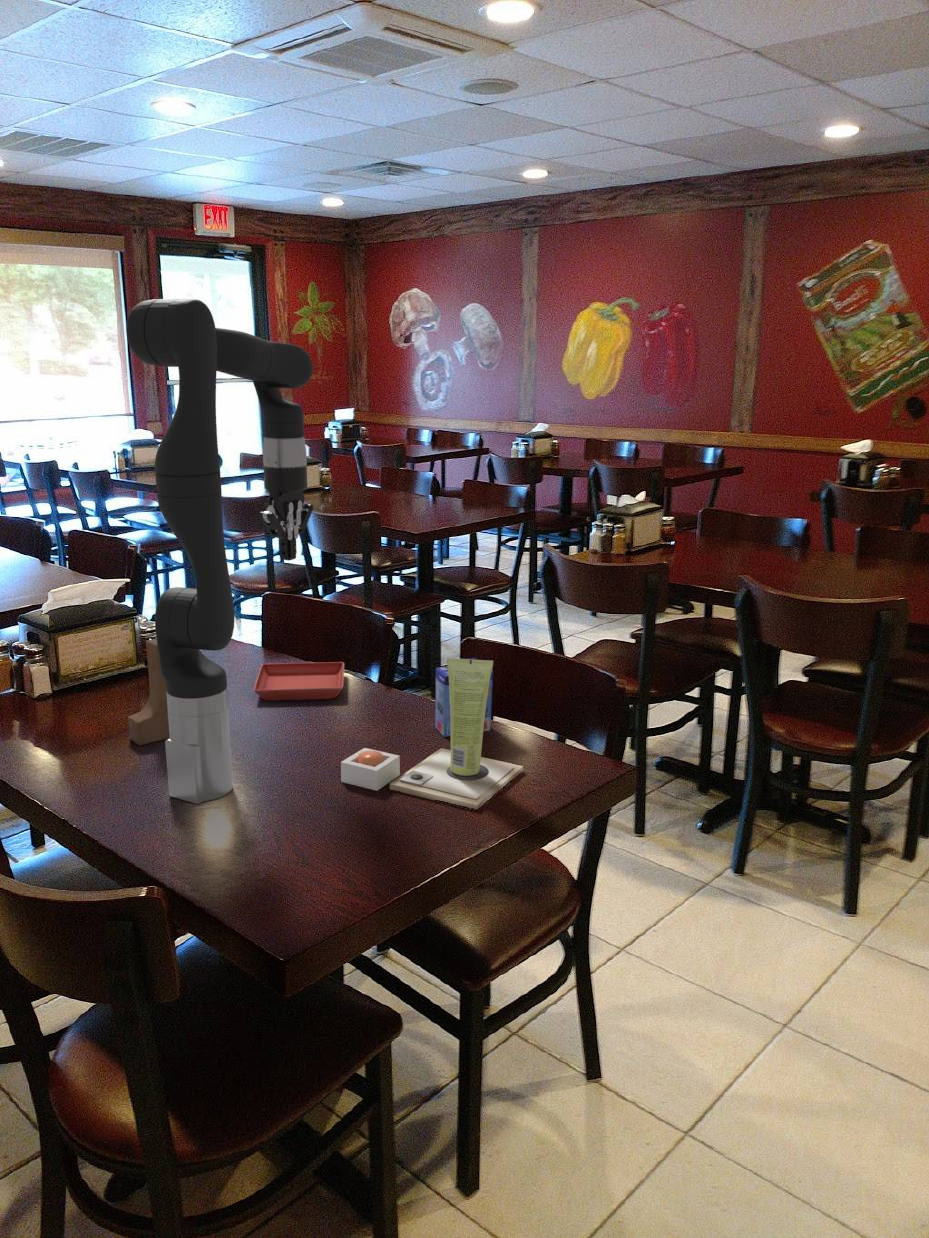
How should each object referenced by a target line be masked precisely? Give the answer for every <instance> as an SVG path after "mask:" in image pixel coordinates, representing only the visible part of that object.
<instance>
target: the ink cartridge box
mask: <svg viewBox="0 0 929 1238" xmlns="http://www.w3.org/2000/svg"><path fill="white" fill-rule="evenodd" d="M469 659H470V660H477V657H471V658H469ZM493 677H494V670H492V671H491V676H490V682H489V688H488V695H487V703H486V710H485V719H484V729H483V733H484V732H490V731H491V721H492V720H491V719H492V699H493ZM434 720H435V721H434V722H435V724H434V726H435V728H436V730H437V731H438V732H439V733H440V734H441V735H442V736H443V737H444V738H447V737H451V715H450V689H449V675H448V667H447V665H446V666H440V667H436V668H435V719H434Z"/></svg>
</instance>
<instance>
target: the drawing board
mask: <svg viewBox="0 0 929 1238" xmlns="http://www.w3.org/2000/svg"><path fill="white" fill-rule="evenodd" d="M450 761H451V749H446V748H443V747H441V748H439V749H438V750H436V751H435V752H434V753H431V755H429V756H428V757H426V758H425V759H423V760H422V761H420V762H418V763H417V764H416V765H415V766H413V767H412V768H410V769H409V770H407V771H406V772H404V773H403V774H402V775H401V774H400V775H399V776H398V777H396V778H395V779H393V780H392V781H390V782H389V790H391V791H395V792H399V791H400V792H399V793H403V794H407V795H412V796H416V797H419V798H424V799H428V800H431V801H435V800H440V801H444V802H448V803H451V804H456V805H461V806H466V807H468V808H474V809H478V808H479V807H481V806H482V805H483V803H485V802H486V801H487V800H489V799H490V798H491V797H492V796H493V795H494V794H495V793H496V792H497V791H498V790H500V789H501V788H503V786H505V785H506V784H507V783H508V782H509V781H510V780H512V779H513V778H514V777H515V776H516V775H517V774H518V773H520V772H521V771H523V772H524V765H518V764H514V763H510V762H506V761H501V760H497V759H492V758H487V757H483V756H481V762H480V771H479V773H477V774H475V775H471V776H462V775H458V774H455V773H453V772H452V771H451V769H450ZM451 804H450V805H451ZM481 808H482V807H481Z"/></svg>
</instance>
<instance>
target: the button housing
mask: <svg viewBox="0 0 929 1238" xmlns="http://www.w3.org/2000/svg"><path fill="white" fill-rule="evenodd" d="M364 751H378V752H380V753H382V755H383V762H382V763H380V764H379V765H377V766H375V767H373V766H368V765H364V764H360V763H358V755H359V754H360V753H361V752H364ZM400 760H401V756H400V755H398V754H394V753H393V754H392V753H389V752H386V751H381V750H376V749H372V748H367V747H363V748H362V749H360V750H359V751H356V752H355V753H354V754H352V755H350V756H349V757H347V758H345V759H343V760H342V761H340V779H341V780H340V781H341V783H344V784H348V785H353V786H357V787H360V788H364V789H369V790H373V791H379V790H380V789H382V788H384V786H386V785H388V784H390V783H391V782H393V781H394V780H396V779H397V778H399V777H400V776H401V773H400V771H401V768H400V767H401V765H400V764H401V763H400V762H401V761H400Z"/></svg>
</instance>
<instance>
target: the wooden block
mask: <svg viewBox="0 0 929 1238" xmlns="http://www.w3.org/2000/svg"><path fill="white" fill-rule="evenodd" d="M145 644H146V657H147V658H146V659H147V668H148V680H149V681H148V683H149V694H148V695H149V696H148V701H147V703H146V704H145V706H144V707H143V709H142V710H140V711H139V712H136V713H133V714H131V715H129V716H128V717H127V722H128V723H127V725H128V733H129V734H128V735H129V740H131V741H132V742H134V743H135V744H137V745H138V746H144V745H148V744H152V743H156V742H159V741H162V740H168V739H170V735H169V721H168V706H167V693H166V692H167V691H166V683H165V681H164V679H163V677H162V674H161V670H160V661H159V653H158V646H157V639H156V638H152V639H149V640H146V641H145Z"/></svg>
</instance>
